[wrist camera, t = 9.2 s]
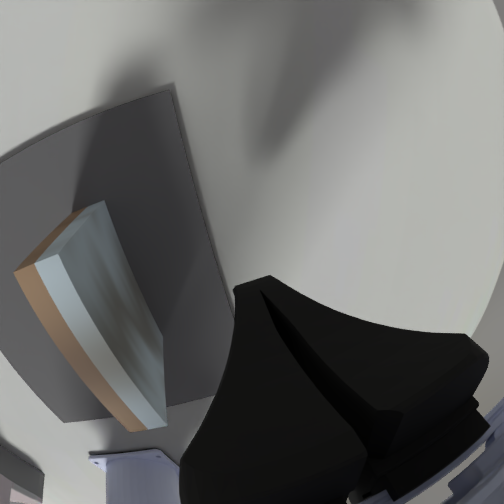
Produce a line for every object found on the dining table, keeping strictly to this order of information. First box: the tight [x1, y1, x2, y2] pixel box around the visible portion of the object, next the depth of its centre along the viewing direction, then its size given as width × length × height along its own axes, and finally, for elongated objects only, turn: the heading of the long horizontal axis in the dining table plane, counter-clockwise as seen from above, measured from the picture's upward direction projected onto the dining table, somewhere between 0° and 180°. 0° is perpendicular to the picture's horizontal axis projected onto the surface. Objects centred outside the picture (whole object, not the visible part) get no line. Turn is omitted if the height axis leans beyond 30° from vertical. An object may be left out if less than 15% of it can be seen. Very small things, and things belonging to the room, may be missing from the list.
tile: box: [13, 200, 168, 432], centre depth 11 cm, size 8×2×6 cm, turn 12°
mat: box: [0, 90, 234, 423], centre depth 14 cm, size 18×16×1 cm
